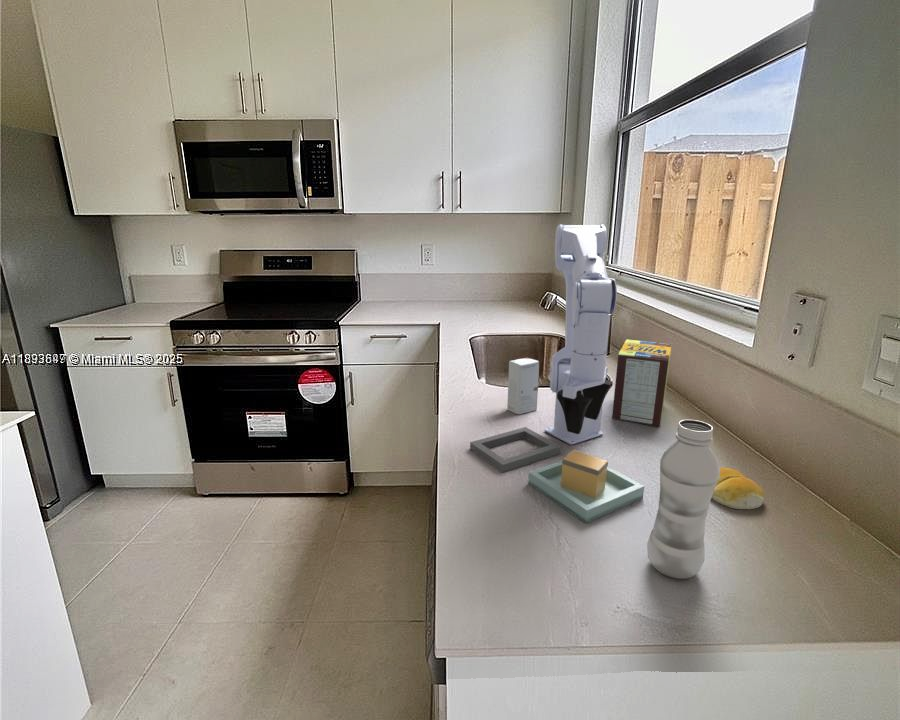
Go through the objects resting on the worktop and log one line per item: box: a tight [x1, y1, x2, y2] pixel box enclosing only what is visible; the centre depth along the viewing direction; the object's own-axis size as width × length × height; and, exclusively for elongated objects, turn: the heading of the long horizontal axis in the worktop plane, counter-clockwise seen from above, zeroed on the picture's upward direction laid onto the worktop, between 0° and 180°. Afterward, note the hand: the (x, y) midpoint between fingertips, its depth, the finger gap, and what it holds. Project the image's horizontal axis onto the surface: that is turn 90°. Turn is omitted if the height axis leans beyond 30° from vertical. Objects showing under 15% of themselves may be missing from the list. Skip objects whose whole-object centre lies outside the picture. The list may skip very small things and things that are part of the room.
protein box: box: [611, 339, 672, 428], centre depth 109 cm, size 10×15×16 cm
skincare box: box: [506, 357, 540, 416], centre depth 111 cm, size 6×4×12 cm
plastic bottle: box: [646, 419, 721, 580], centre depth 58 cm, size 6×7×20 cm
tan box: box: [561, 449, 609, 498], centre depth 78 cm, size 4×6×5 cm
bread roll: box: [711, 467, 766, 510], centre depth 77 cm, size 8×9×4 cm
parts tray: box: [528, 460, 645, 524], centre depth 78 cm, size 13×13×2 cm
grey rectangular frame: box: [469, 426, 562, 473], centre depth 92 cm, size 14×10×2 cm
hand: (582, 425), depth 83 cm, fingers open, 7 cm apart
